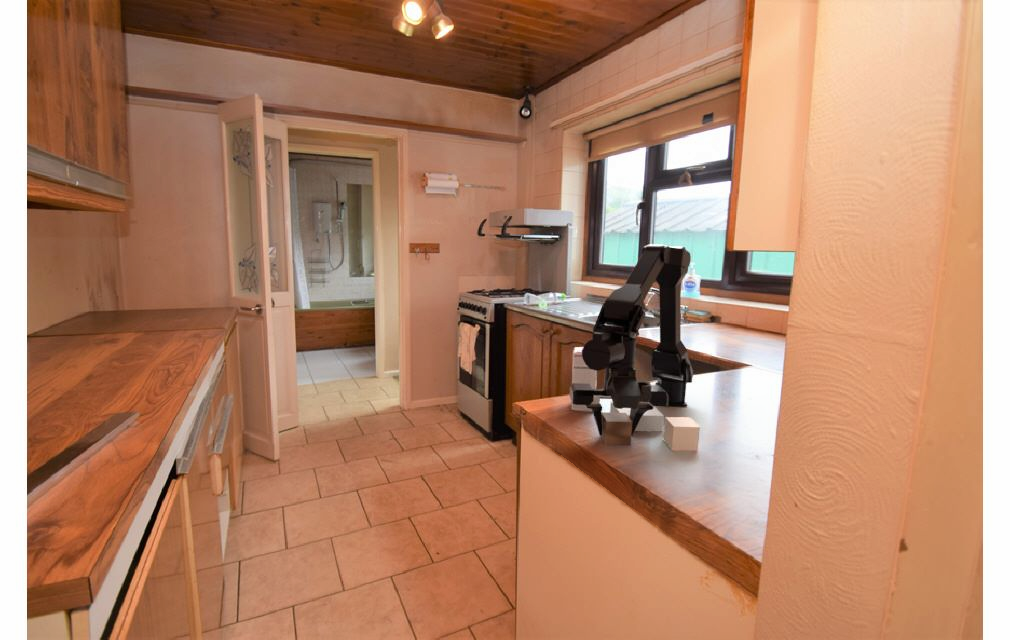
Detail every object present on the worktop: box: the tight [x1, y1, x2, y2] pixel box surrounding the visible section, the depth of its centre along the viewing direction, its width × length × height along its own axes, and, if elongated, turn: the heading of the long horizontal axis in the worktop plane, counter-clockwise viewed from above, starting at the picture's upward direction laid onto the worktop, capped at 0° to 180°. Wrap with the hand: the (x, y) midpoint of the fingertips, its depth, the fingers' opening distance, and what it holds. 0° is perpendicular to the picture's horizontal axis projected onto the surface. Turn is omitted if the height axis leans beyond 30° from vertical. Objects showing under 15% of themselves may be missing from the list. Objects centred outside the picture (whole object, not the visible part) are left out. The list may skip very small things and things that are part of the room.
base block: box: [609, 400, 665, 432], centre depth 103 cm, size 9×9×4 cm
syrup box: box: [570, 346, 598, 413], centre depth 112 cm, size 6×6×14 cm
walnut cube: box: [600, 411, 632, 446], centre depth 94 cm, size 5×5×5 cm
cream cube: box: [663, 416, 701, 452], centre depth 92 cm, size 5×5×5 cm
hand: (615, 435), depth 95 cm, fingers open, 6 cm apart
